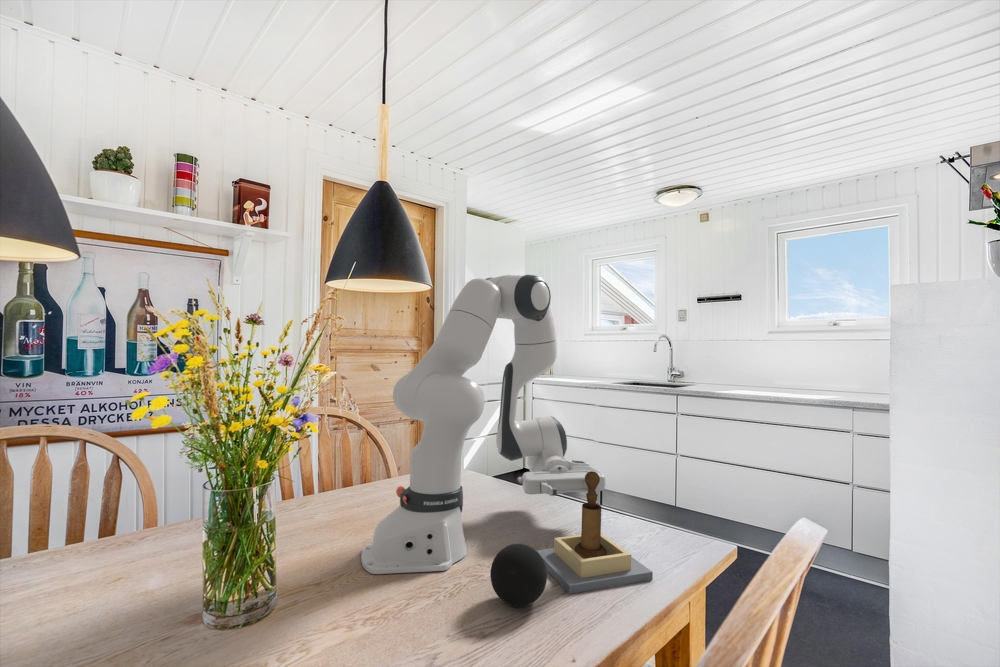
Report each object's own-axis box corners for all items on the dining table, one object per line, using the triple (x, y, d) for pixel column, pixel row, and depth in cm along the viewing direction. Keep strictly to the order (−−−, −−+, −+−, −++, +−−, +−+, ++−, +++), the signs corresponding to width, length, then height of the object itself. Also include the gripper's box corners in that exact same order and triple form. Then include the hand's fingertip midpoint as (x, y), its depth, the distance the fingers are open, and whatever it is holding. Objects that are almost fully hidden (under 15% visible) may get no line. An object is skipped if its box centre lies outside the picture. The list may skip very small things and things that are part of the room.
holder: (569, 593, 90) (569, 569, 90) (535, 557, 105) (535, 536, 105) (652, 579, 96) (652, 556, 96) (608, 547, 111) (608, 527, 111)
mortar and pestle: (598, 571, 96) (600, 478, 96) (568, 561, 100) (570, 472, 100) (611, 559, 101) (613, 471, 101) (583, 550, 105) (584, 466, 105)
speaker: (534, 585, 93) (534, 532, 93) (555, 613, 83) (556, 554, 84) (483, 593, 90) (484, 538, 90) (499, 622, 80) (500, 561, 81)
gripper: (516, 464, 124) (529, 479, 110) (592, 461, 128) (614, 475, 114) (516, 489, 124) (529, 507, 110) (592, 485, 128) (614, 502, 114)
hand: (573, 491), depth 112 cm, fingers open, 8 cm apart
